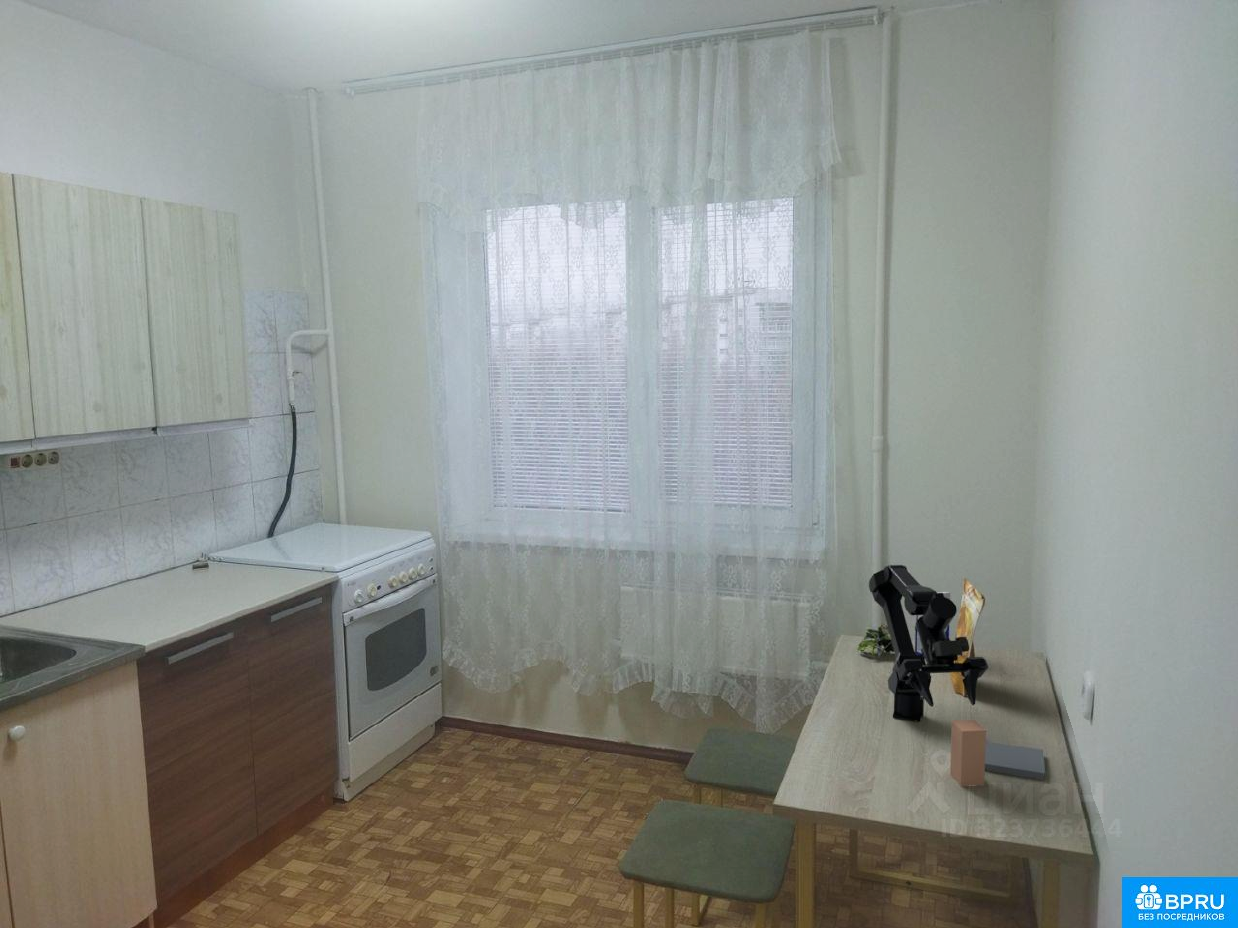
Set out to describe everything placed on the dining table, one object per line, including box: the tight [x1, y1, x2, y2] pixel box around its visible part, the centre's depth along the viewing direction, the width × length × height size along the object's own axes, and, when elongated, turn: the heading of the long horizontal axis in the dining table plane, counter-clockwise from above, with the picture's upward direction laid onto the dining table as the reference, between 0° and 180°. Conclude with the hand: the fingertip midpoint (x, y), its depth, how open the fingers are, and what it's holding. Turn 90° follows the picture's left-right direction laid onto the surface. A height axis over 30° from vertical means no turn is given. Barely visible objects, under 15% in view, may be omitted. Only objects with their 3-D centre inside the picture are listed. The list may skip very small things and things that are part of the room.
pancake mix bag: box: [949, 577, 986, 697], centre depth 232 cm, size 7×19×28 cm, turn 165°
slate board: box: [985, 740, 1046, 781], centre depth 189 cm, size 12×12×2 cm
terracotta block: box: [949, 720, 987, 787], centre depth 181 cm, size 5×5×12 cm
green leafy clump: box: [857, 624, 895, 661], centre depth 258 cm, size 11×11×12 cm
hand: (953, 705), depth 188 cm, fingers open, 9 cm apart
